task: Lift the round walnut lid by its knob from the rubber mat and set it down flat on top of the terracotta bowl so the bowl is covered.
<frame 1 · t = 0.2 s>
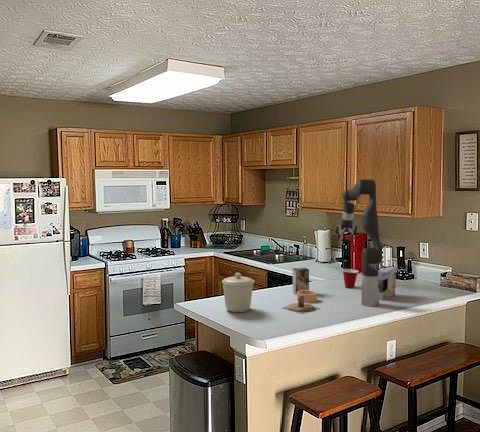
hand: (345, 238, 344), 31 cm above the counter, tool tilted 20°, fingers open, 8 cm apart
coffee box: (300, 293, 315), on the counter
plastic cup: (350, 287, 333), on the counter
walnut lid: (300, 308, 279), resting on rubber mat
canister: (237, 310, 276), on the counter
cake pan box: (385, 297, 307), on the counter
rubber mat: (300, 309, 279), on the counter
terracotta bowl: (306, 300, 298), on the counter
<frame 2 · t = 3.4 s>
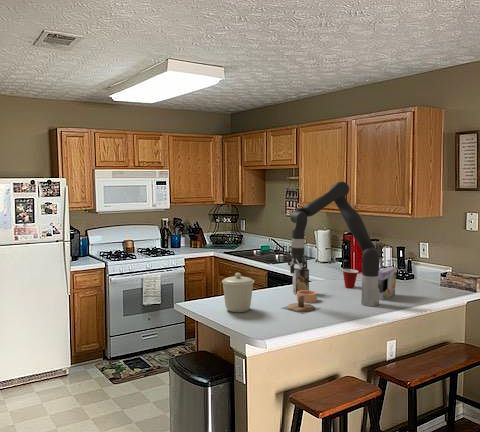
hand: (297, 274, 282), 19 cm above the counter, tool pointing down, fingers open, 8 cm apart
nothing on the counter moved.
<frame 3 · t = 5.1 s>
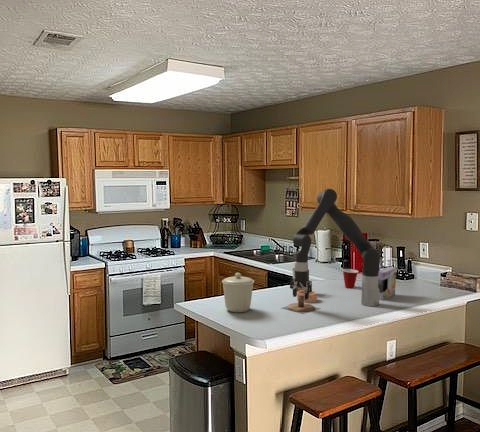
hand: (300, 298, 279), 6 cm above the counter, tool pointing down, fingers open, 8 cm apart
nothing on the counter moved.
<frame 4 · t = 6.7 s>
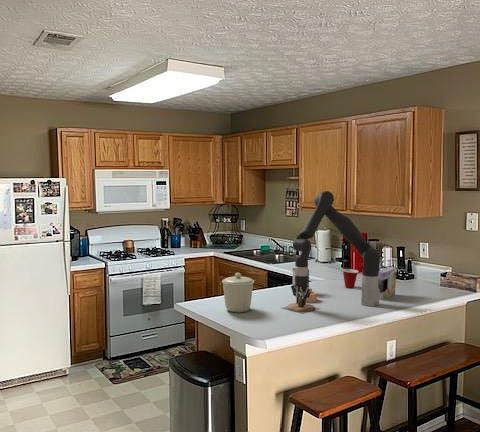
hand: (301, 304, 279), 3 cm above the counter, tool pointing down, fingers closed on walnut lid, 3 cm apart
walnut lid: (301, 308, 279), resting on rubber mat, touching gripper
everything else where it was.
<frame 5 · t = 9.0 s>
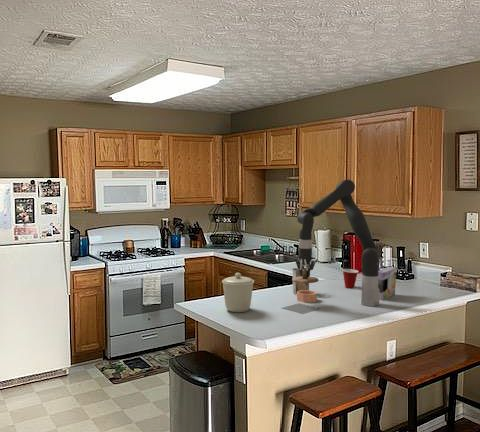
hand: (305, 276, 286), 17 cm above the counter, tool pointing down, fingers closed on walnut lid, 3 cm apart
walnut lid: (305, 280, 286), point 14 cm above the counter, touching gripper
everything else where it was.
when the fingers open (9 cm above the counter, at t = 11.8 s): walnut lid drops 2 cm, resting on terracotta bowl.
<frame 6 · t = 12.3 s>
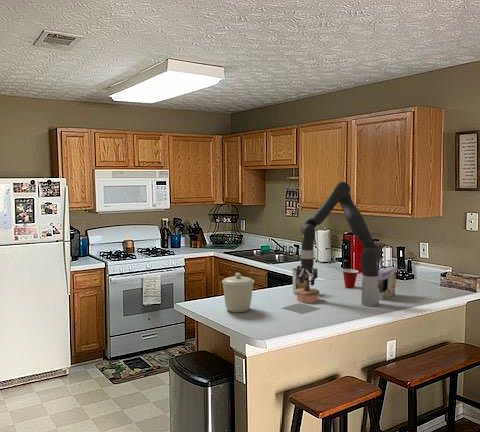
hand: (306, 284, 297), 10 cm above the counter, tool pointing down, fingers open, 8 cm apart
walnut lid: (306, 292, 297), point 5 cm above the counter, touching terracotta bowl
everything else where it was.
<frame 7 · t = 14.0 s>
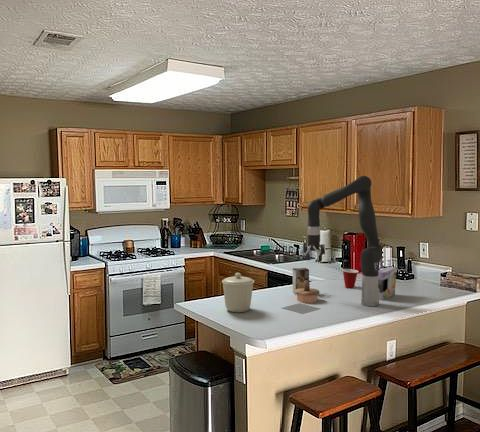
hand: (314, 260, 297), 24 cm above the counter, tool pointing down, fingers open, 8 cm apart
nothing on the counter moved.
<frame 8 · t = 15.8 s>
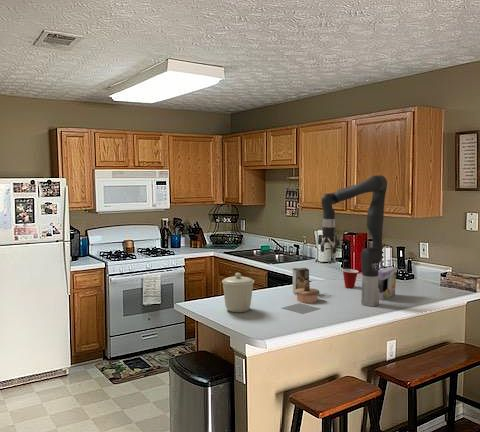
hand: (328, 252, 302), 28 cm above the counter, tool pointing down, fingers open, 8 cm apart
nothing on the counter moved.
at the end: walnut lid 0.1 cm from the terracotta bowl (horizontally); walnut lid point 5.0 cm above the counter; walnut lid tilted 0° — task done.
